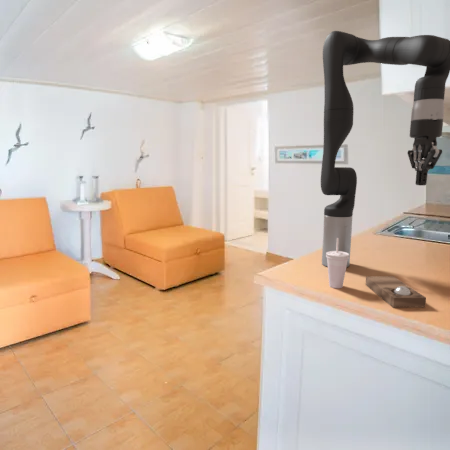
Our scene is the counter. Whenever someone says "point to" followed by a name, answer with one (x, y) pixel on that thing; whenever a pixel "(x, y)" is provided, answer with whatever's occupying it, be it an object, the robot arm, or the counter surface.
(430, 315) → the counter surface
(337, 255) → the smoothie
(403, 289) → the ball
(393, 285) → the brown ball holder
